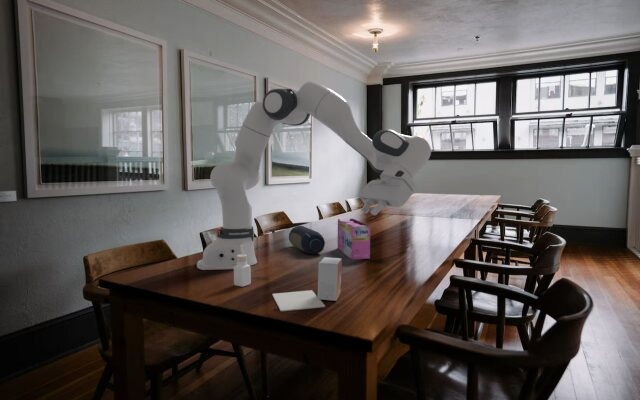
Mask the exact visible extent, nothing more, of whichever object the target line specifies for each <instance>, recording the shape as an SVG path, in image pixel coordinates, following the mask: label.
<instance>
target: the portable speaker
mask: <svg viewBox="0 0 640 400" xmlns="http://www.w3.org/2000/svg"><path fill="white" fill-rule="evenodd" d="M288 241H289V243H290V244H291V245H293V247H296V248H297V249H299V250H301V251H303V252H305V253H306V254H308V255H317V254H320V253H321V252H322V251H323V250H324V248H325V245H326V242H325V238H324V237H323V235H322V234H321V233H320V232H318V231H316V230H313V229H311V228H309V227H305V226H303V225H296V226H294V227H293V228H291V229H290V232H289V234H288Z"/></svg>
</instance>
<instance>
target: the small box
mask: <svg viewBox="0 0 640 400" xmlns="http://www.w3.org/2000/svg"><path fill="white" fill-rule="evenodd" d="M342 262H343V259H342V258H339V257H327V256H324V257H323V258H322V259H321V260H320V261H319V262H318V269H317V270H318V271H317V297H318V299H320V300H321V301H325V300H326V301H334V302H335V301H336V302H337V301H338V299H339V297H340V295H341V293H342V292H341V291H342V289H341V286H342V285H341V284H342V264H343V263H342Z"/></svg>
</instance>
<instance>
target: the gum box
mask: <svg viewBox="0 0 640 400" xmlns="http://www.w3.org/2000/svg"><path fill="white" fill-rule="evenodd" d="M337 249H338V250H339V251H340V252H342V254H344V255H345V256H346V257H348V258H349V259H351V260H365V259H366V260H367V259H369V260H370V258H371V226H370V225H369V224H367V223H364V222H362V221H359V220H357V219H354V218H349V220H346V219H342V220H341V219H340V218H338V219H337Z"/></svg>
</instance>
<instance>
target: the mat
mask: <svg viewBox="0 0 640 400" xmlns="http://www.w3.org/2000/svg"><path fill="white" fill-rule="evenodd" d="M271 295H272V297H273V299H274V301H275V303H276V305H277V307H278V309H279V311H280V312H281V313H282V312H290V311H291V312H292V311H299V310H308V309H317V308H319V309H320V308H326V305H325V304H324V302H323V301H322V300H321V299H318V295H316V293H315V292H314V291H313V289H311V290H299V291H298V290H297V291H291V292H290V291H288V292H279V293H278V292H277V293H272V294H271Z"/></svg>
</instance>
